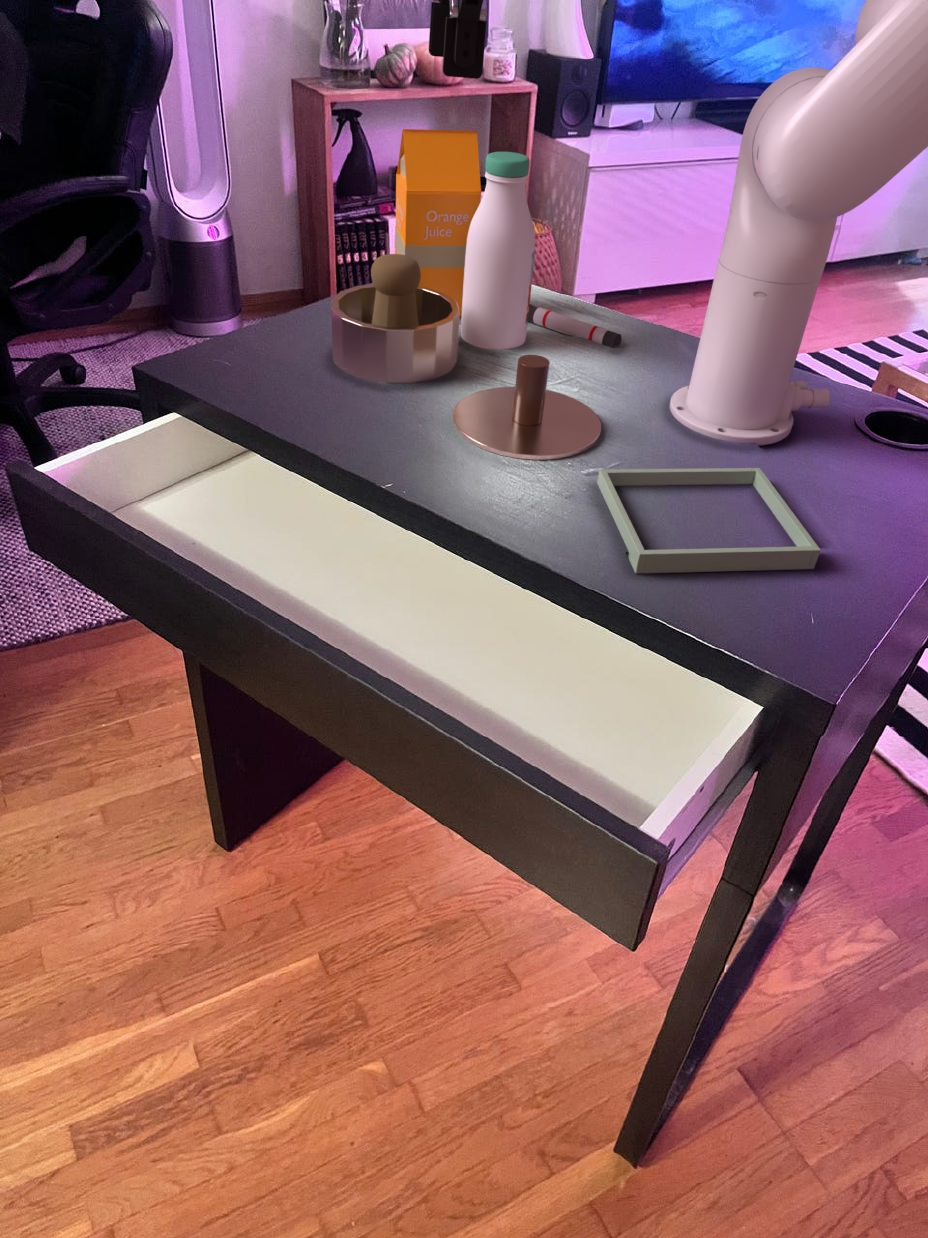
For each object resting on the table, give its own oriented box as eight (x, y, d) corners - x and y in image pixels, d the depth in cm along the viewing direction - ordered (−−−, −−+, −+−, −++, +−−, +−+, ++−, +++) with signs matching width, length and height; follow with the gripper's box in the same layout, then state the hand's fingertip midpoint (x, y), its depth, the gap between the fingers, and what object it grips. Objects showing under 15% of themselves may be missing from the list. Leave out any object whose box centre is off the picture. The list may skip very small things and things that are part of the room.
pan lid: (581, 395, 98) (591, 331, 93) (616, 464, 87) (629, 395, 82) (444, 395, 96) (448, 329, 91) (462, 466, 85) (467, 394, 80)
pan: (448, 337, 108) (451, 283, 104) (462, 388, 98) (466, 330, 94) (331, 336, 106) (330, 281, 102) (333, 387, 96) (332, 328, 92)
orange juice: (473, 316, 114) (486, 138, 101) (403, 318, 112) (407, 136, 99) (460, 294, 120) (470, 123, 107) (393, 295, 118) (395, 121, 105)
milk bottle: (520, 357, 105) (539, 168, 92) (454, 348, 106) (464, 159, 93) (529, 333, 111) (549, 151, 98) (467, 324, 112) (478, 143, 99)
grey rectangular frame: (754, 485, 85) (760, 467, 84) (814, 569, 75) (821, 550, 74) (596, 487, 83) (599, 469, 82) (635, 573, 73) (639, 554, 72)
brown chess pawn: (390, 343, 105) (392, 243, 98) (432, 358, 102) (437, 257, 95) (355, 358, 101) (354, 256, 94) (398, 375, 98) (400, 271, 92)
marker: (620, 347, 109) (622, 331, 108) (611, 352, 108) (614, 336, 106) (515, 312, 116) (516, 296, 114) (506, 316, 114) (507, 300, 113)
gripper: (546, -198, 62) (515, 89, 73) (501, -189, 75) (480, 53, 86) (437, -213, 61) (421, 81, 72) (410, -201, 74) (400, 46, 85)
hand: (453, 65), depth 79 cm, fingers open, 9 cm apart
